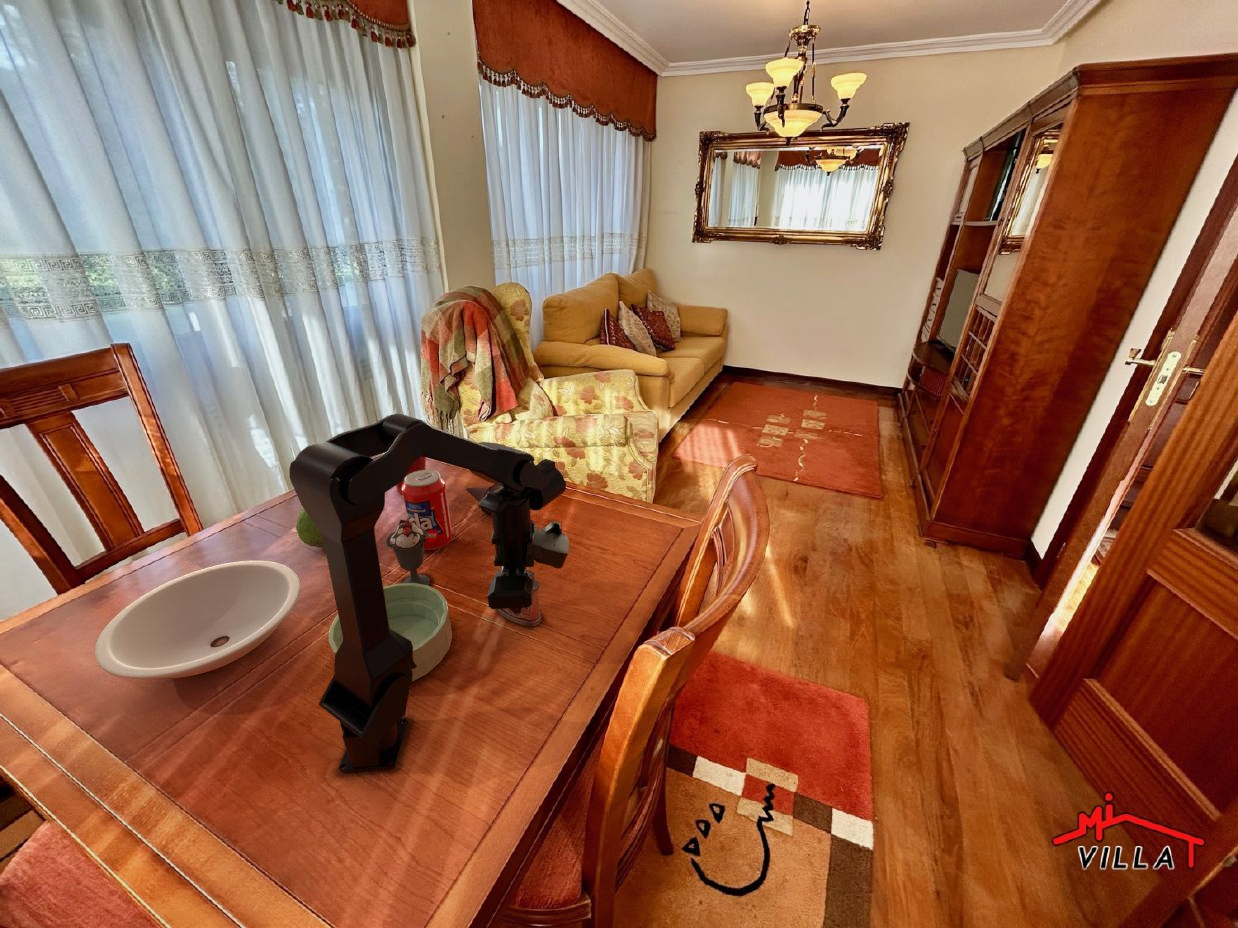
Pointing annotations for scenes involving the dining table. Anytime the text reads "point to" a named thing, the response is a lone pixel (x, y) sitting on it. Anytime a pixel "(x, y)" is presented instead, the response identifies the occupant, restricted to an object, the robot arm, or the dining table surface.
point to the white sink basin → (198, 621)
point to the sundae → (409, 549)
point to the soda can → (428, 506)
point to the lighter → (527, 615)
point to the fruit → (308, 530)
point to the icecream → (482, 493)
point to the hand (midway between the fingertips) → (518, 602)
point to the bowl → (413, 623)
